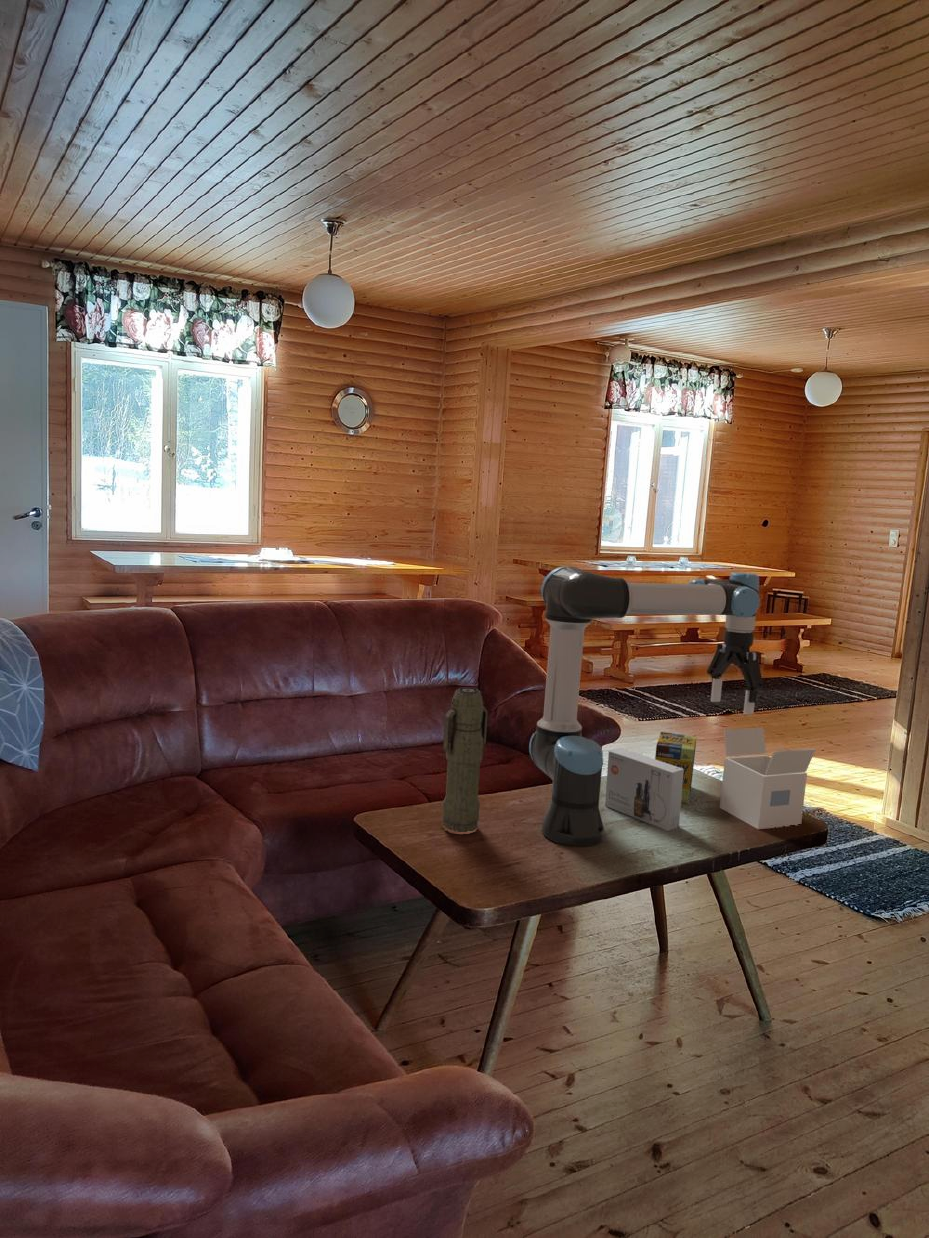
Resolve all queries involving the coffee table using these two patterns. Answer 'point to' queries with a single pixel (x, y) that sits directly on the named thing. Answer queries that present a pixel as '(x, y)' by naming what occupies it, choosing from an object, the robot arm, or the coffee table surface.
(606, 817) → the coffee table surface
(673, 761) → the protein box
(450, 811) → the thermos
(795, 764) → the near flap
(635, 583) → the robot arm
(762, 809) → the carton
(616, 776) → the skincare box
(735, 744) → the far flap
